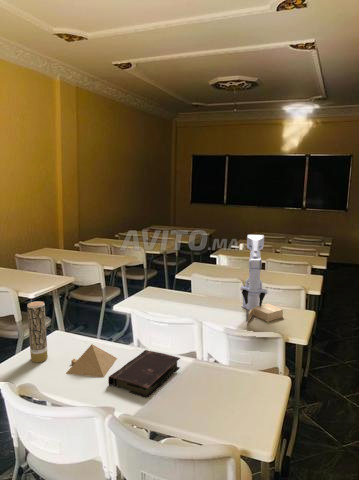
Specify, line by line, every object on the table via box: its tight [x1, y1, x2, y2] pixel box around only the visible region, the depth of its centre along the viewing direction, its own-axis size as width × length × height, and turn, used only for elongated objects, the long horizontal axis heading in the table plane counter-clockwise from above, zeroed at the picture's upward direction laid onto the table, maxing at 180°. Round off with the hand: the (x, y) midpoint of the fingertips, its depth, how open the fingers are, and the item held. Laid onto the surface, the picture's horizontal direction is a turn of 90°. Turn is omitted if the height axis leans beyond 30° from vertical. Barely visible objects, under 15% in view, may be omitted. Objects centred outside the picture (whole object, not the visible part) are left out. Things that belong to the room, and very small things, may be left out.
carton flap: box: [245, 308, 254, 323], centre depth 211 cm, size 13×1×7 cm, turn 156°
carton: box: [253, 303, 284, 322], centre depth 216 cm, size 11×12×4 cm
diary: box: [107, 349, 181, 399], centre depth 152 cm, size 19×25×5 cm
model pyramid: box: [65, 343, 118, 378], centre depth 160 cm, size 17×17×10 cm
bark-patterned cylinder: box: [26, 300, 48, 363], centre depth 163 cm, size 7×7×25 cm
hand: (253, 304), depth 208 cm, fingers open, 7 cm apart
